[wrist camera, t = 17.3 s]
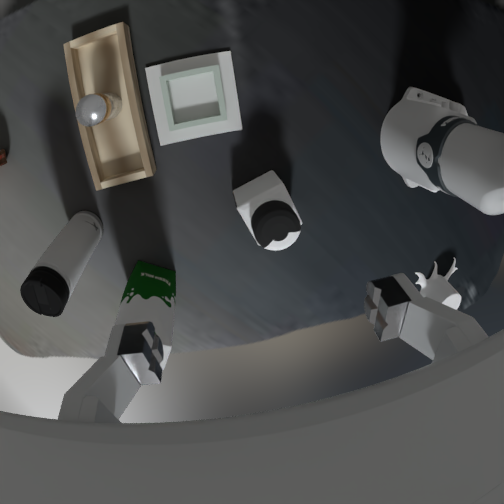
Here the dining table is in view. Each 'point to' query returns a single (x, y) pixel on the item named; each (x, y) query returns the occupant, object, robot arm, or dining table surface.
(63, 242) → the travel mug
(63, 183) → the dining table surface
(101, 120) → the cell
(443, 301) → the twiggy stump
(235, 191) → the medicine bottle
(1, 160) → the tin
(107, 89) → the trough
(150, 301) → the milk carton
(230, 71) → the checker cradle
